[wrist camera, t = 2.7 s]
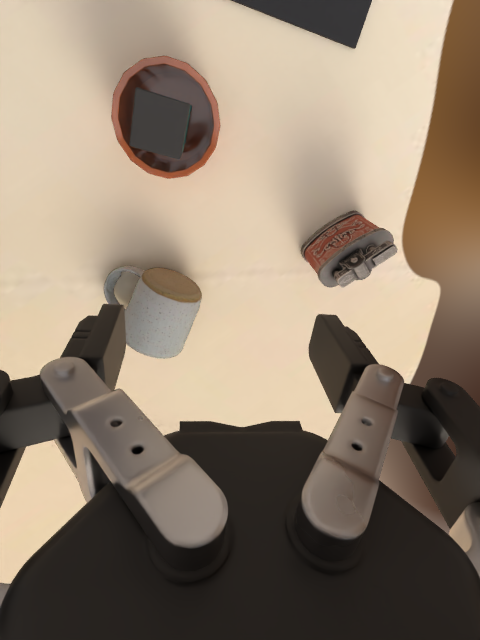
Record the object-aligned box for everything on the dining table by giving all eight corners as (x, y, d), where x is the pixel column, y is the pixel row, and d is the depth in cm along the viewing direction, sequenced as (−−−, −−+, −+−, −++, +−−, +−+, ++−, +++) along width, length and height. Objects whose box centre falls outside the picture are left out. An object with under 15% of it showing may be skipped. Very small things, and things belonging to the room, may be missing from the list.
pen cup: (123, 152, 35) (107, 162, 29) (133, 53, 31) (117, 39, 25) (204, 175, 37) (206, 188, 30) (223, 84, 33) (230, 77, 27)
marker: (152, 133, 34) (128, 145, 22) (157, 94, 32) (135, 86, 20) (185, 142, 35) (180, 160, 23) (192, 105, 33) (190, 103, 21)
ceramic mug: (205, 278, 43) (206, 308, 36) (182, 332, 46) (179, 368, 40) (117, 245, 40) (100, 272, 33) (100, 306, 43) (81, 340, 37)
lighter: (309, 267, 43) (337, 305, 35) (295, 245, 42) (321, 281, 33) (367, 227, 42) (412, 258, 33) (355, 203, 40) (398, 229, 32)
